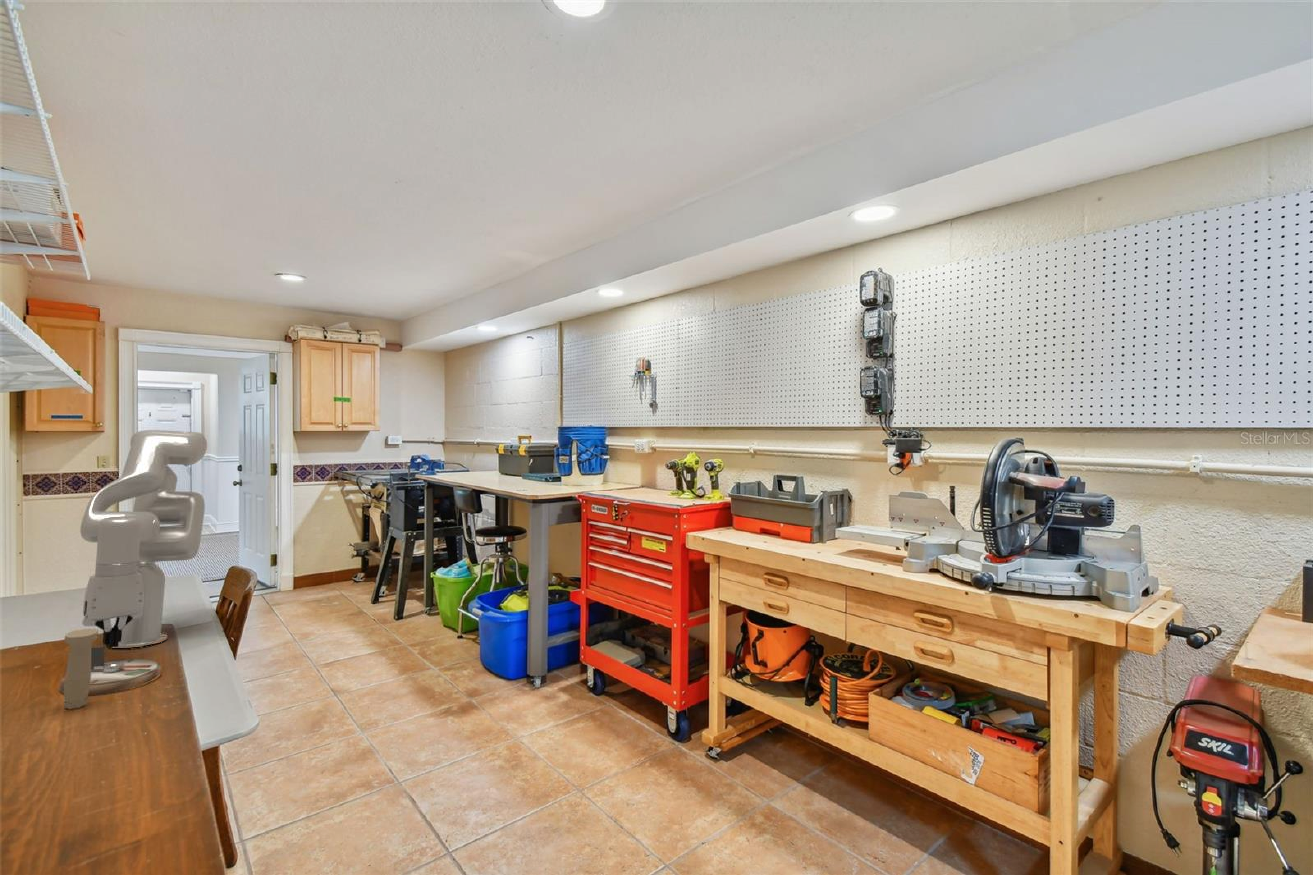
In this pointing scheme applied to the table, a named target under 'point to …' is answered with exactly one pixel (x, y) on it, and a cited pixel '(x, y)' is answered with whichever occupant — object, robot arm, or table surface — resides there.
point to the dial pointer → (109, 667)
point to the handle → (78, 667)
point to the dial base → (120, 678)
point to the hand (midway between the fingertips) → (111, 646)
